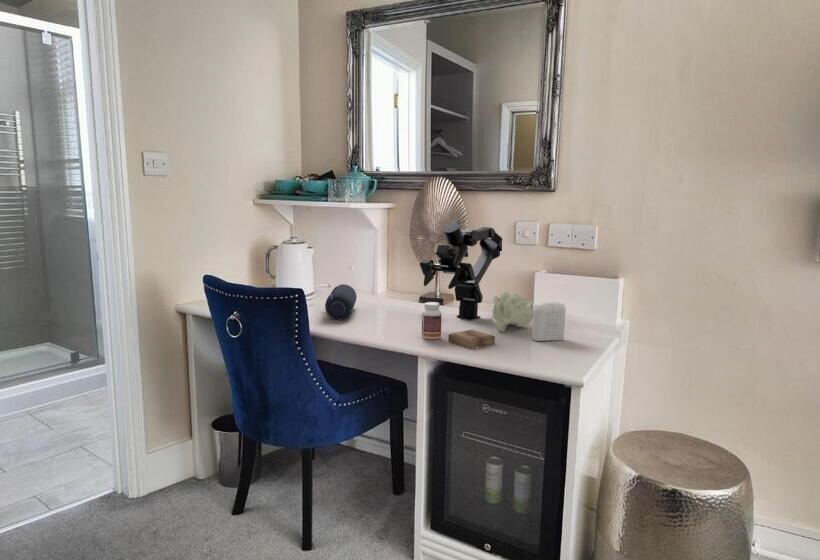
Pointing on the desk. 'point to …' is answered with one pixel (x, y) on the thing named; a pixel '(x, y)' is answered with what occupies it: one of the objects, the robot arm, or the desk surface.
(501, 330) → the wavy plaster lump
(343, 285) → the portable speaker
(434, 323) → the pill bottle
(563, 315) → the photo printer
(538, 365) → the desk surface
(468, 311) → the robot arm
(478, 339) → the plinth
